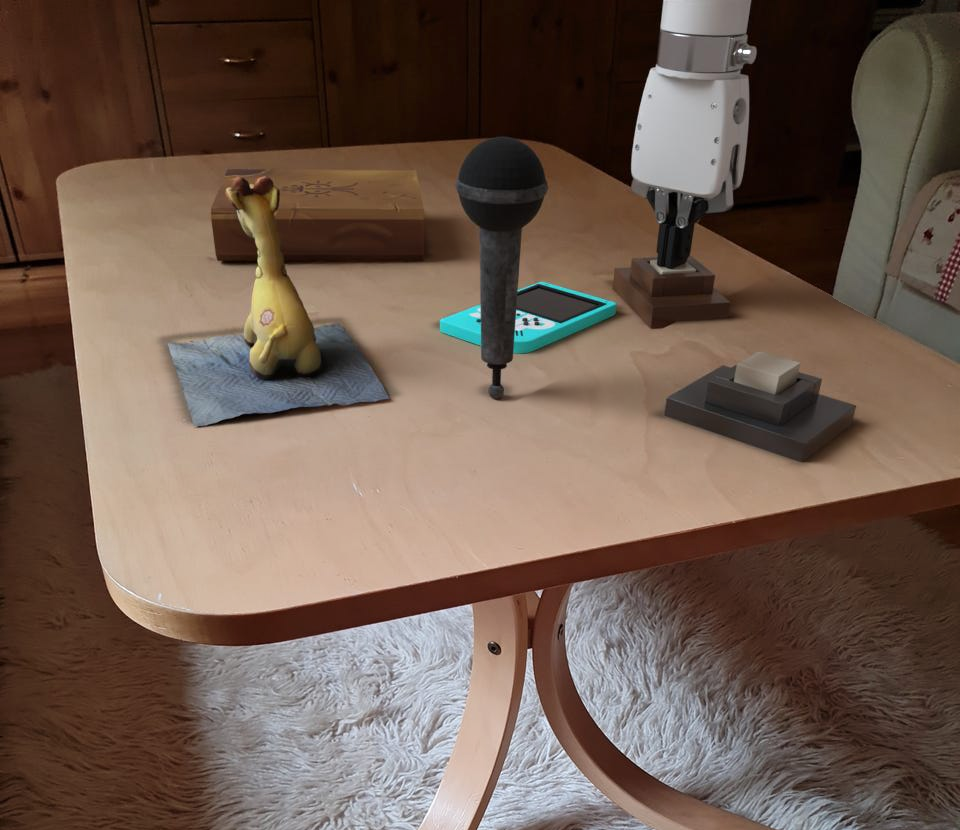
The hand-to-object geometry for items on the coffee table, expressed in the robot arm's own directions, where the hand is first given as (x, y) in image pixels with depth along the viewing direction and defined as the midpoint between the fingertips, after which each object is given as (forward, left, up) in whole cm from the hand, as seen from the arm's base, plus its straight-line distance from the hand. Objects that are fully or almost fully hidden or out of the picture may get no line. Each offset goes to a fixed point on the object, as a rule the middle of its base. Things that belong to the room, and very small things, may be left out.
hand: (671, 264), depth 101 cm
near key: (-21, +19, -1) cm, 28 cm away
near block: (-21, +19, -4) cm, 29 cm away
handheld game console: (+7, +13, -4) cm, 16 cm away
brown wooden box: (+42, +8, -4) cm, 43 cm away
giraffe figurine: (+16, +38, -4) cm, 42 cm away
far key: (0, 0, -2) cm, 2 cm away
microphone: (-2, +29, -4) cm, 30 cm away
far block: (0, 0, -4) cm, 4 cm away
